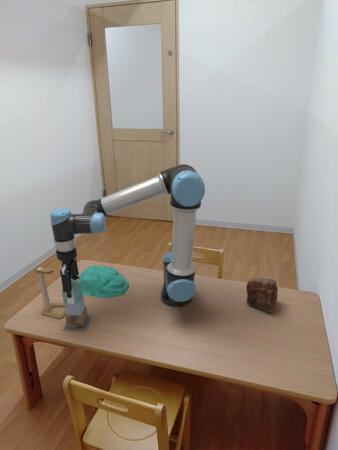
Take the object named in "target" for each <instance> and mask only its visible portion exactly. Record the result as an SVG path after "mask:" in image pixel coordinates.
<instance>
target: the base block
mask: <svg viewBox="0 0 338 450" xmlns="http://www.w3.org/2000/svg"><path fill="white" fill-rule="evenodd" d="M87 307H88V306H87V305H85V308H84V310H83V313H82V315H81V316H67V314H66V315H65V316H64V318H65V324H67V328H84V327H85V324H86V321H87V319H88V315H89V313H88V309H87Z"/></svg>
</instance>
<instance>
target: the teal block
mask: <svg viewBox="0 0 338 450" xmlns="http://www.w3.org/2000/svg"><path fill="white" fill-rule="evenodd" d="M72 289H73V293H74V300H75V303H79V301H80V299H81V297H82V288H81V283H72ZM61 294H62V301H63V303H68V302H67V296H66V292H63V288H62V290H61Z"/></svg>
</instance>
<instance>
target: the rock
mask: <svg viewBox="0 0 338 450" xmlns="http://www.w3.org/2000/svg"><path fill="white" fill-rule="evenodd" d="M245 286H246V289H245V290H246V294H247V297H246V304H247V305H250V306H251V307H254V308H256V309H258V310H261V311H264V312H268V313H272V312H274V311H275V308H276V304H277V301H278V291H279V288H278V286H277V280H276V279H272V278H264V277H254V278H250V279H249V280H248V281H247V284H246V285H245Z"/></svg>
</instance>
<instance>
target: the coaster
mask: <svg viewBox="0 0 338 450" xmlns="http://www.w3.org/2000/svg"><path fill="white" fill-rule="evenodd" d="M92 317H93V314H88V319H87V321H86V324H85V327H84V328H67V324H66V323H64V324H65V325H64V327H63V329H62V331H63V332H64V331H65V332H74V331H75V332H76V331H77V332H78V331H79V332H80V331H81V332H87V330H88V329H89V328H88V327H89V325H90V322H91V320H92Z"/></svg>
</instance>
